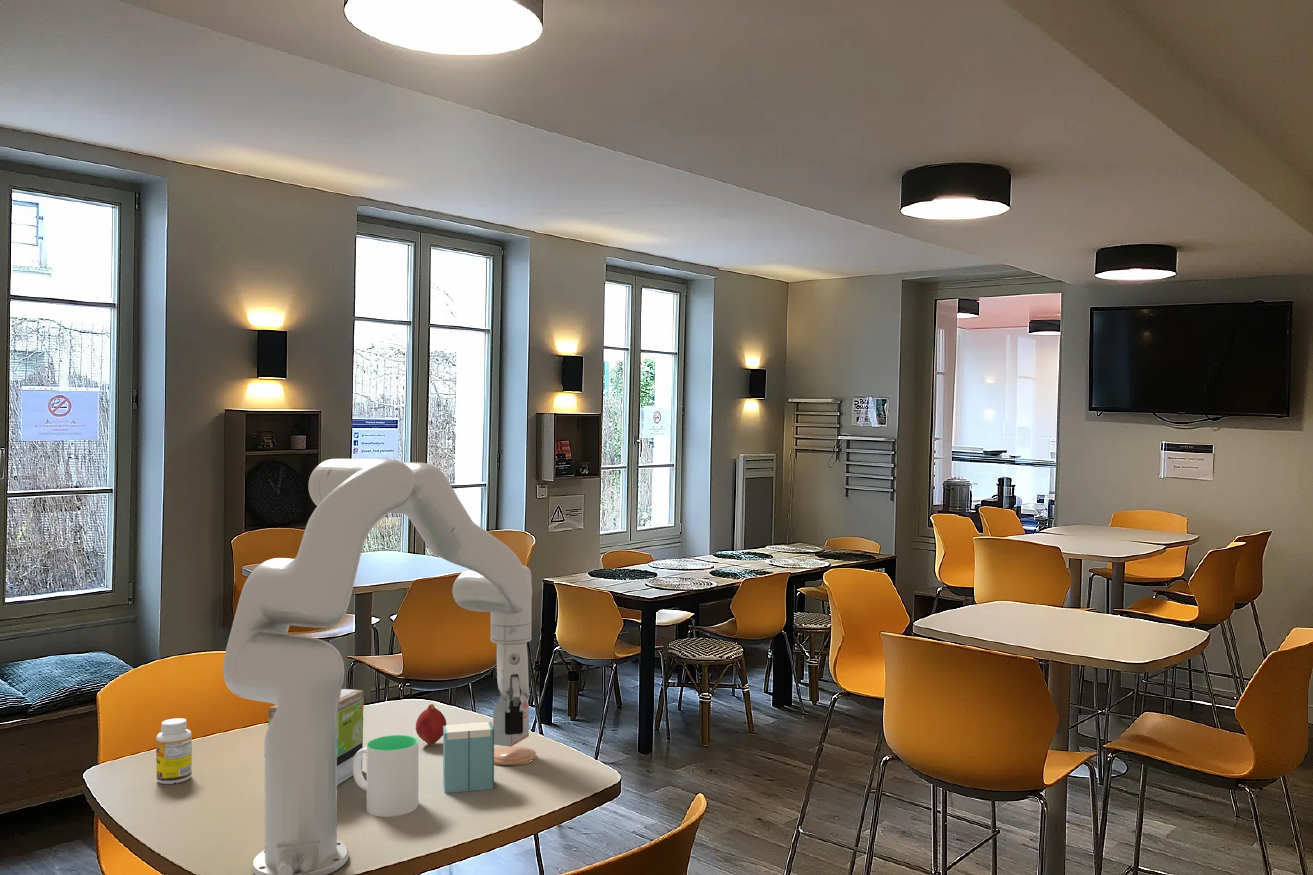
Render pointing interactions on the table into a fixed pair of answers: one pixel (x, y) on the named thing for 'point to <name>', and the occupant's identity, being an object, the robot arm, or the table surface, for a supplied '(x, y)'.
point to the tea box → (345, 730)
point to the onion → (430, 725)
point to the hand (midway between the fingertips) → (511, 726)
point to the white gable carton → (499, 723)
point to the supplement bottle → (174, 752)
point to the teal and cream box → (468, 757)
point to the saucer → (513, 755)
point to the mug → (389, 775)
